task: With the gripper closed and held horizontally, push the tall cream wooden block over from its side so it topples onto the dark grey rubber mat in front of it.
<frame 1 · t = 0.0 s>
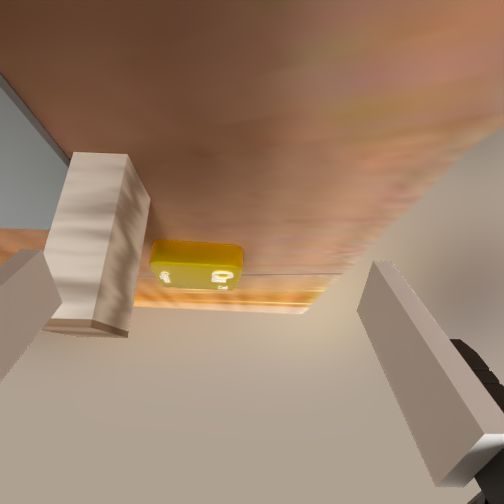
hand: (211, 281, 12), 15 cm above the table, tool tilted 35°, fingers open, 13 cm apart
element tile: (199, 255, 54), on the table
tall block: (116, 178, 31), on the table
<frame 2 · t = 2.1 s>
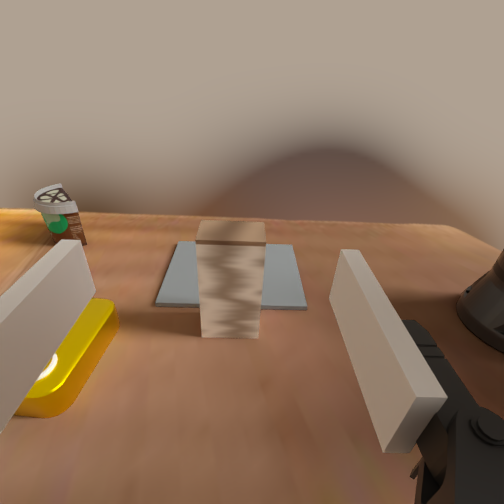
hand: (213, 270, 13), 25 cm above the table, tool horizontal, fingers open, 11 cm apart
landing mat: (234, 272, 55), on the table
food container: (65, 240, 62), on the table
element tile: (44, 358, 38), on the table
tall block: (230, 324, 44), on the table
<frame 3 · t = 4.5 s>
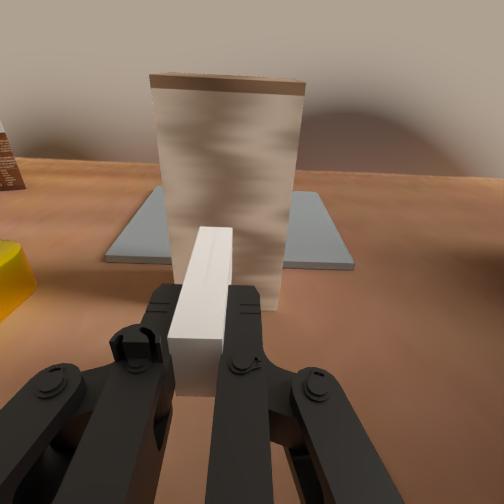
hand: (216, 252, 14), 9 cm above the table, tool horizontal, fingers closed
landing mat: (235, 222, 37), on the table
tall block: (229, 289, 26), on the table
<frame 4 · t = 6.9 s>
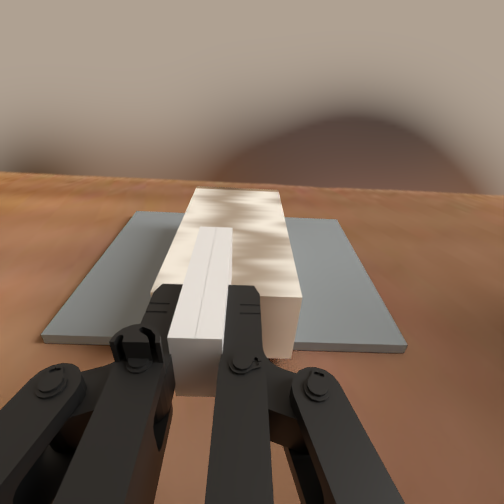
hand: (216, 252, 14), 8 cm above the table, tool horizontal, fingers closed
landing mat: (234, 266, 28), on the table
tall block: (226, 328, 17), point 3 cm above the table, tilted 90°, touching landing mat
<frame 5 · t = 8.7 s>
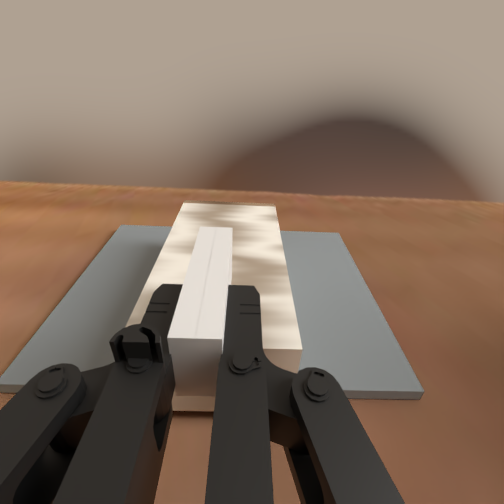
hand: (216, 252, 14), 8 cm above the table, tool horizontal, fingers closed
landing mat: (225, 289, 25), on the table
tall block: (212, 382, 14), point 3 cm above the table, tilted 90°, touching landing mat
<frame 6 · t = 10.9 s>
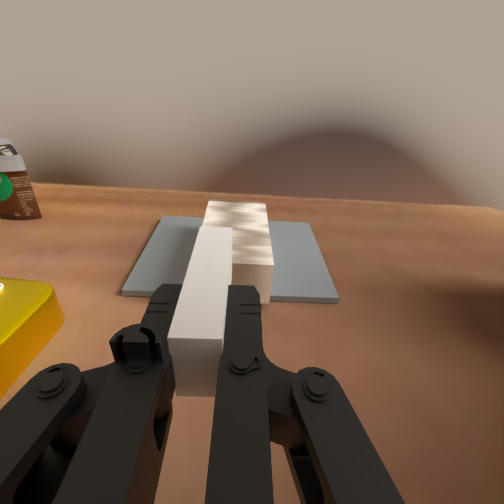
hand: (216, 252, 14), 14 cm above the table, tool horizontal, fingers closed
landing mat: (234, 254, 41), on the table
food container: (14, 212, 48), on the table
tall block: (232, 283, 30), point 3 cm above the table, tilted 90°, touching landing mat
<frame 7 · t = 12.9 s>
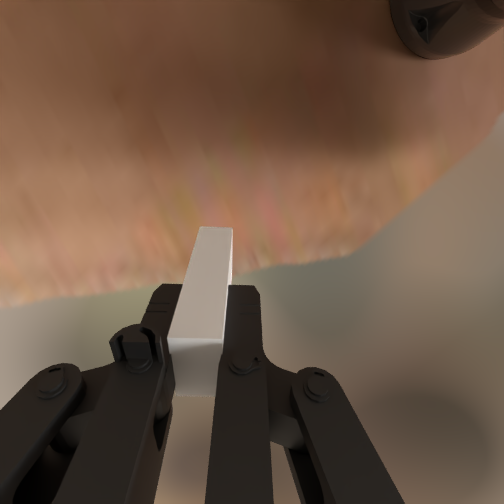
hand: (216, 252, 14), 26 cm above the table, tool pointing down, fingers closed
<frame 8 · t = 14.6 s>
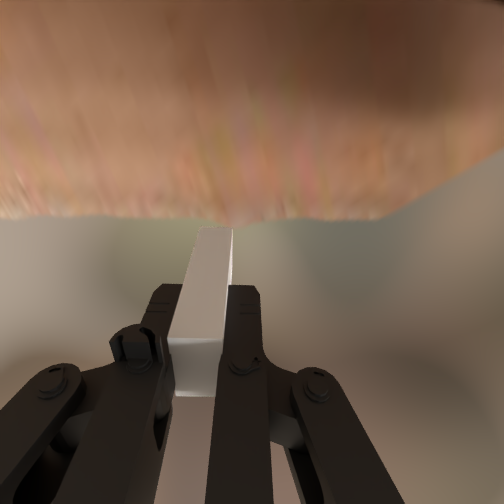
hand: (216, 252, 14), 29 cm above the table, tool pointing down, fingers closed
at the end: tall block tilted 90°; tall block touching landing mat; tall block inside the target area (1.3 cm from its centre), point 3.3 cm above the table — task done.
